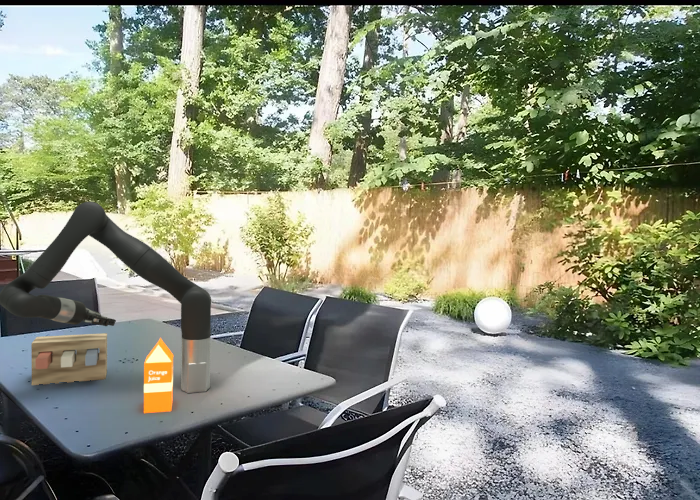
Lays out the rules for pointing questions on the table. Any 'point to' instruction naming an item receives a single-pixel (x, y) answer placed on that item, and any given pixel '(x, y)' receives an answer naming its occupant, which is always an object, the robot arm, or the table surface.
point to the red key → (43, 360)
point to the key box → (78, 369)
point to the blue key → (91, 357)
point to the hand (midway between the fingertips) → (106, 319)
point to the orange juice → (158, 379)
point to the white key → (68, 358)
